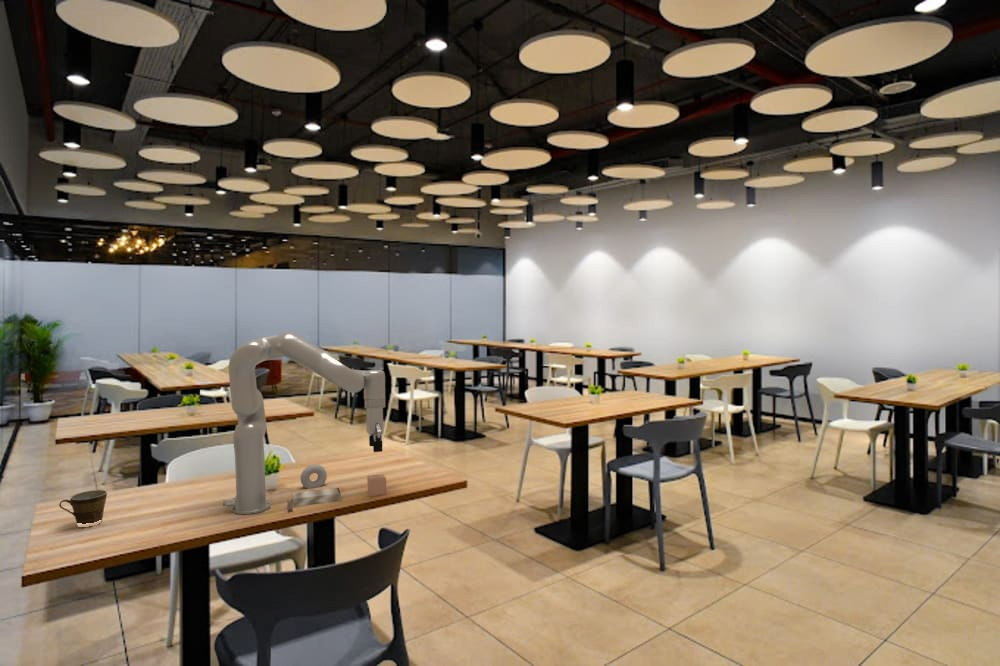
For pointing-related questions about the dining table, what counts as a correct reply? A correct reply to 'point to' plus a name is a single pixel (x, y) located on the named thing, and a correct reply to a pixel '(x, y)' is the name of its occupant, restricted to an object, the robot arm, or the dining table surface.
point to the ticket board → (314, 497)
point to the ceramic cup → (87, 506)
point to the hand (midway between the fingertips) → (375, 448)
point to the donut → (310, 470)
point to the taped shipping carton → (376, 485)
